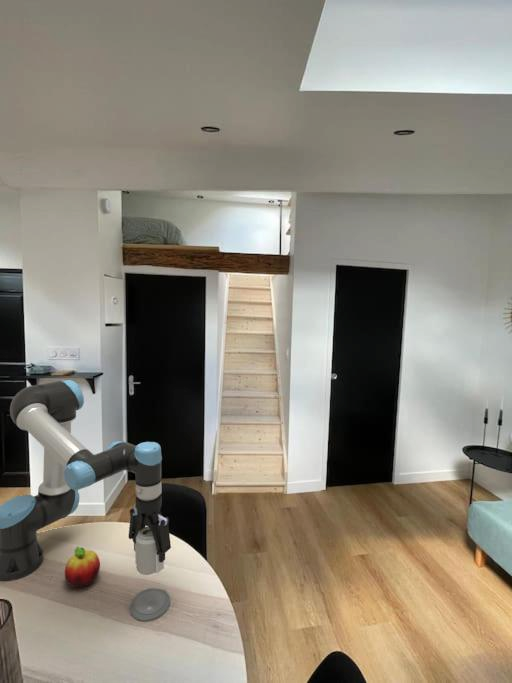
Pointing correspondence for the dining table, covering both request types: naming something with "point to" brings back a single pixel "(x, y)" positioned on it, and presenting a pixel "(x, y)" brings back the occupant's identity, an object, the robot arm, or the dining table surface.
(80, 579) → the fruit
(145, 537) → the can
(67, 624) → the dining table surface
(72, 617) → the dining table surface
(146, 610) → the saucer
